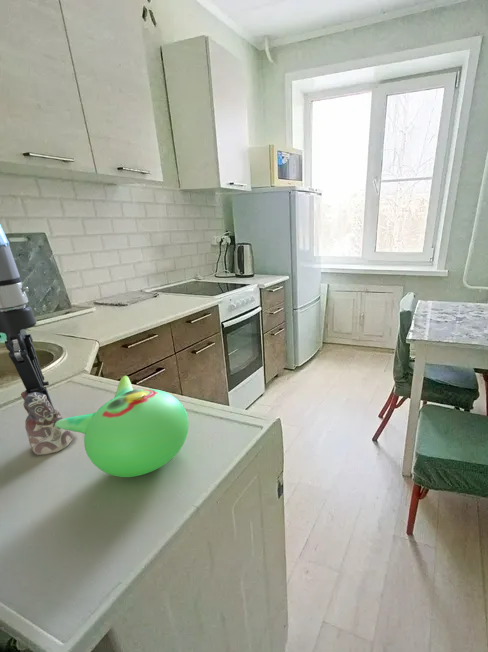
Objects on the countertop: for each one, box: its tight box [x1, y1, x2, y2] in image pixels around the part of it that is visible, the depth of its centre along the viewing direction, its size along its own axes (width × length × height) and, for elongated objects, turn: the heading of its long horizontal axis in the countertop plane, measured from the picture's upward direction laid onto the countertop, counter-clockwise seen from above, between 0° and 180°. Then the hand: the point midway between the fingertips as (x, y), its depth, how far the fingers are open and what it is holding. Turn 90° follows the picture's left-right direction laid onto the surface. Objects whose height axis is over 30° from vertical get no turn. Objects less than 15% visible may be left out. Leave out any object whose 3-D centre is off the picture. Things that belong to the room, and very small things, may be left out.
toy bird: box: [55, 375, 190, 478], centre depth 63 cm, size 18×17×15 cm
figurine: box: [20, 390, 74, 456], centre depth 70 cm, size 7×7×12 cm
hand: (48, 416), depth 76 cm, fingers closed
